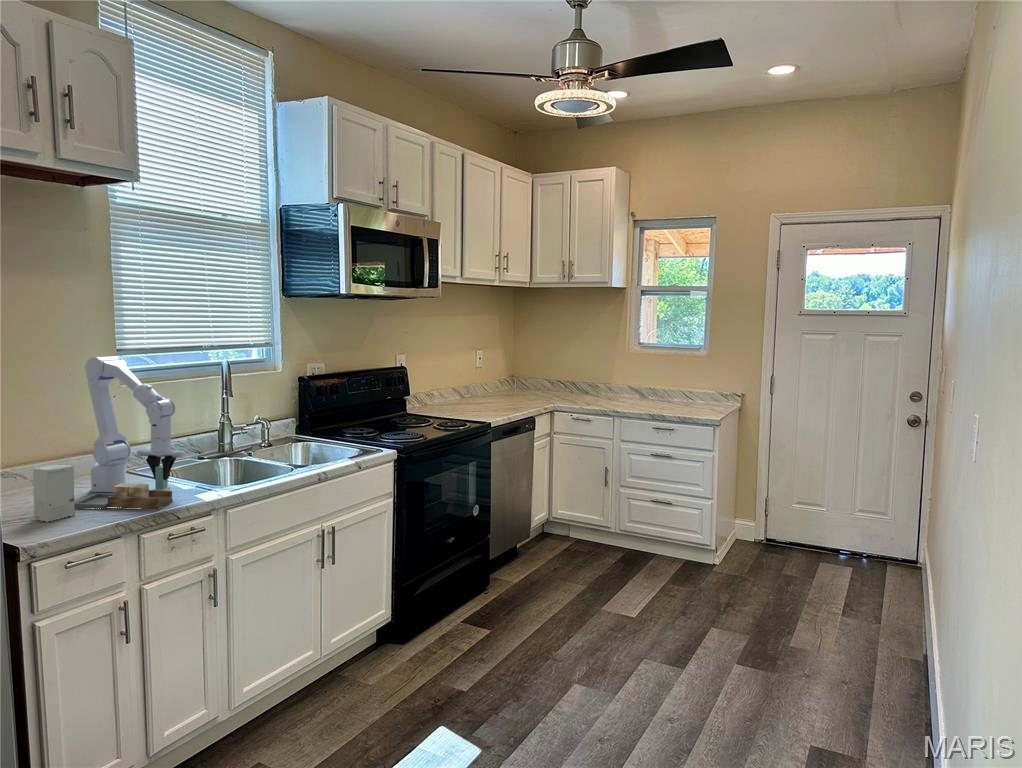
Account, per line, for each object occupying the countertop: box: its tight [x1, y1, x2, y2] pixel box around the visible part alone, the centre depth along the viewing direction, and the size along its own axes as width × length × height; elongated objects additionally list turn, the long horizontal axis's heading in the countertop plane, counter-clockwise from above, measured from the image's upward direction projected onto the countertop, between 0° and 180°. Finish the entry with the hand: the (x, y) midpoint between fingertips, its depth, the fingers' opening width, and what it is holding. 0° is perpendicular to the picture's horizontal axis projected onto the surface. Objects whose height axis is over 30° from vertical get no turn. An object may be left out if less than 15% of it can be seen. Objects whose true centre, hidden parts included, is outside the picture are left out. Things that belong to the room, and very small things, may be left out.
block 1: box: [113, 483, 135, 497], centre depth 211 cm, size 4×4×4 cm
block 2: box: [129, 483, 150, 497], centre depth 211 cm, size 4×4×4 cm
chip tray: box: [74, 492, 114, 510], centre depth 211 cm, size 10×12×2 cm
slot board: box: [108, 489, 173, 510], centre depth 211 cm, size 15×9×4 cm, turn 90°
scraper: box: [152, 464, 171, 491], centre depth 221 cm, size 3×5×9 cm, turn 0°
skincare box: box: [32, 463, 76, 523], centre depth 196 cm, size 8×6×15 cm
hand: (161, 478), depth 221 cm, fingers closed on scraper, 2 cm apart
